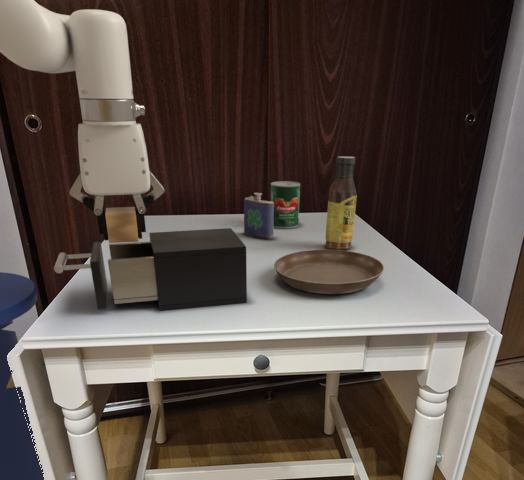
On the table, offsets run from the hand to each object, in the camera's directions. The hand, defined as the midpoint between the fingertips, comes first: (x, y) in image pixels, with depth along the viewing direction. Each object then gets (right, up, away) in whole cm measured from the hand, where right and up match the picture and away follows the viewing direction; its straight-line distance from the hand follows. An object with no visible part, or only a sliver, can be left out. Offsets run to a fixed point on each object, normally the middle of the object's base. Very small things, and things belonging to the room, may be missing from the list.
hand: (123, 236), depth 79 cm
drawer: (-1, -9, +4) cm, 10 cm away
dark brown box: (+11, -8, +8) cm, 16 cm away
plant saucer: (+35, -5, +14) cm, 38 cm away
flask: (+22, +10, +43) cm, 49 cm away
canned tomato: (+29, +16, +54) cm, 63 cm away
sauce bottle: (+41, +5, +35) cm, 54 cm away
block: (0, 0, 0) cm, 0 cm away
